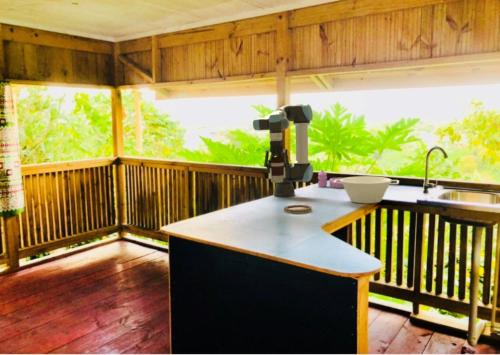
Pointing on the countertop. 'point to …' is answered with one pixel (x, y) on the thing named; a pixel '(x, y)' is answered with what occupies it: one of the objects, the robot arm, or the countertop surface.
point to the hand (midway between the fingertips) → (277, 178)
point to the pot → (366, 188)
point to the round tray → (297, 209)
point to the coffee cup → (277, 169)
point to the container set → (323, 182)
